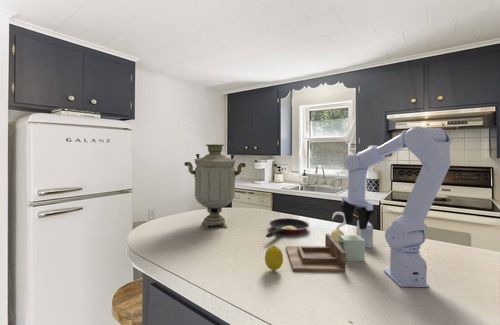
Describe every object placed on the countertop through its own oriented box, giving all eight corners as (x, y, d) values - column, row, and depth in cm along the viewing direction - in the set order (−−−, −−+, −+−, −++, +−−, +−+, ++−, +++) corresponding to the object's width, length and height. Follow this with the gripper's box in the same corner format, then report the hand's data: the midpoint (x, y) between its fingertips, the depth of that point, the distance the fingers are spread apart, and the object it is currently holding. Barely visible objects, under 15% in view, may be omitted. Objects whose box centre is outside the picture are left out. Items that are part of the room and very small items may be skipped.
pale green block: (364, 260, 87) (365, 240, 87) (342, 260, 87) (342, 240, 87) (358, 254, 92) (359, 235, 92) (337, 254, 92) (337, 235, 92)
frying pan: (314, 227, 124) (314, 220, 124) (289, 249, 96) (289, 240, 96) (278, 222, 133) (279, 215, 133) (246, 240, 106) (246, 231, 106)
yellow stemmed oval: (329, 240, 106) (330, 212, 105) (332, 237, 110) (332, 209, 110) (344, 243, 103) (345, 214, 102) (347, 239, 107) (347, 211, 107)
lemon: (271, 265, 83) (271, 241, 83) (286, 270, 79) (286, 245, 79) (261, 271, 79) (261, 245, 78) (276, 277, 75) (276, 250, 75)
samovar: (249, 218, 140) (250, 145, 138) (241, 233, 114) (241, 143, 112) (197, 215, 145) (197, 144, 143) (178, 230, 119) (177, 143, 117)
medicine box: (372, 248, 98) (373, 226, 98) (360, 247, 99) (361, 225, 99) (367, 241, 106) (368, 220, 105) (356, 240, 107) (356, 219, 106)
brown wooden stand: (345, 271, 79) (345, 252, 78) (293, 271, 79) (293, 252, 79) (328, 249, 97) (328, 233, 96) (286, 248, 97) (286, 233, 97)
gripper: (381, 190, 86) (380, 230, 86) (353, 185, 100) (352, 219, 100) (363, 191, 84) (362, 232, 85) (337, 185, 98) (336, 220, 99)
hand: (355, 225), depth 92 cm, fingers open, 7 cm apart
